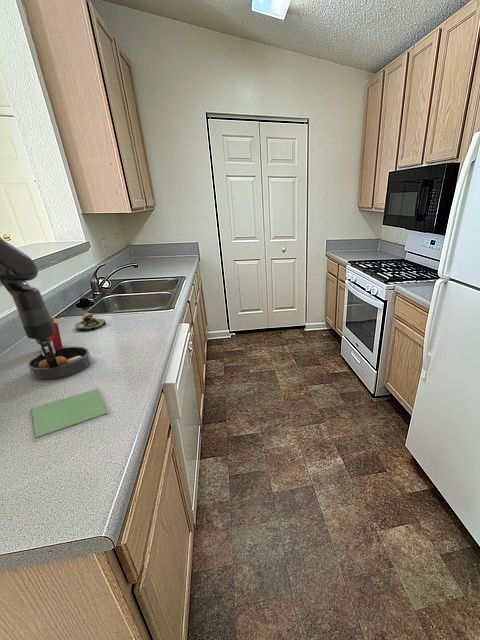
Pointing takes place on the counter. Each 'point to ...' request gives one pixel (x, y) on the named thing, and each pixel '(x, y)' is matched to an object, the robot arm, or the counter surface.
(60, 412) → the napkin
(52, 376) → the pan
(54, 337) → the french fries
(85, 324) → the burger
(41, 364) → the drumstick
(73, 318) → the counter surface
